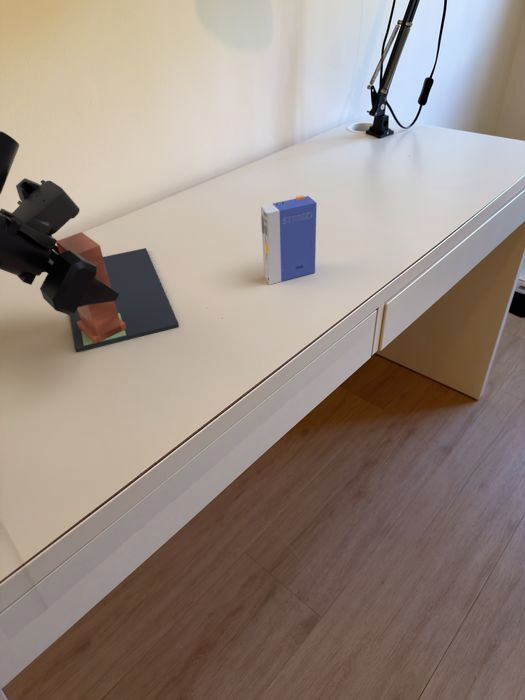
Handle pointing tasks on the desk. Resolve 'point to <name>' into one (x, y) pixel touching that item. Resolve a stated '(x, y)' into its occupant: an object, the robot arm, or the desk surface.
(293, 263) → the walkman
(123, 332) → the dark blue mat
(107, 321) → the reddish brown square pillar
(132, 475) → the desk surface
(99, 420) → the desk surface
